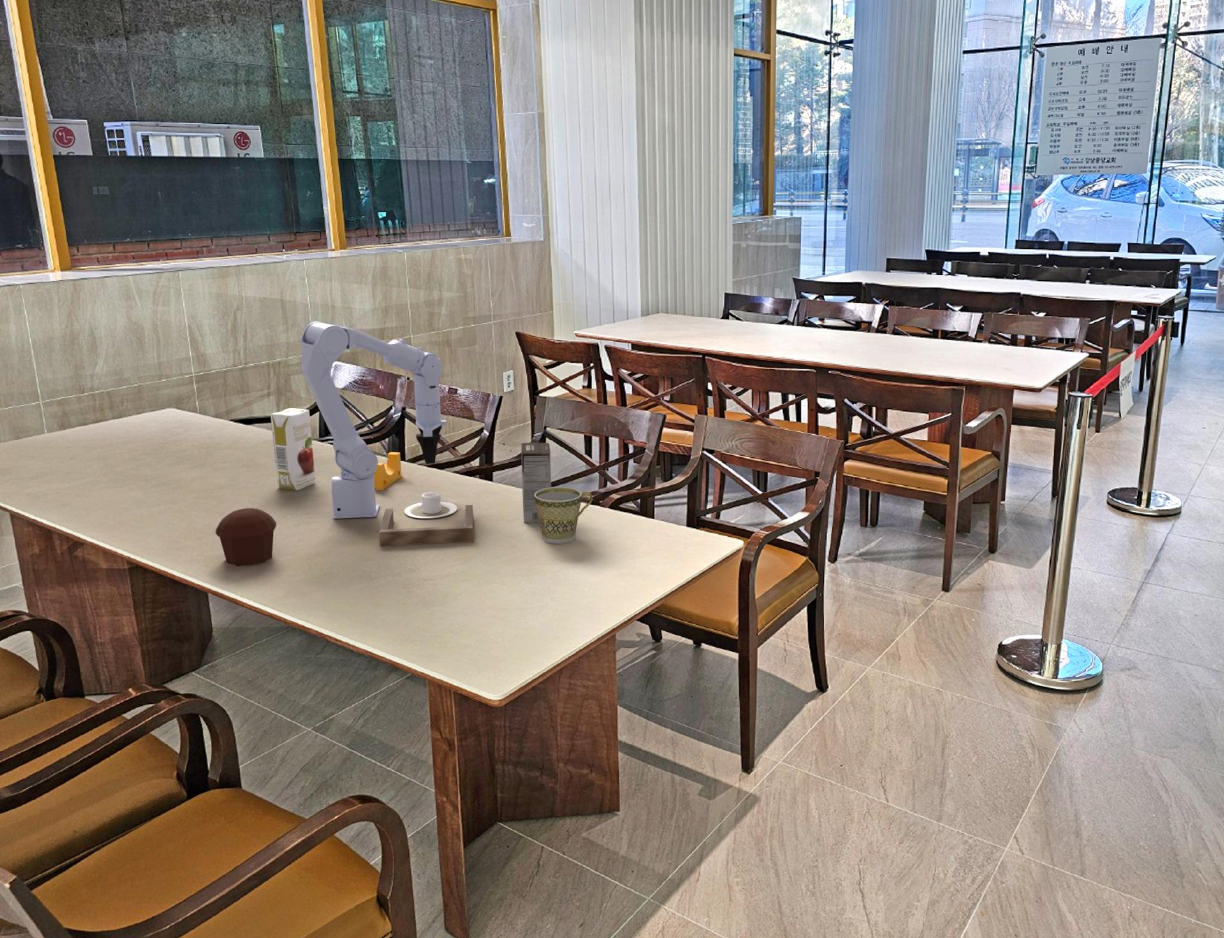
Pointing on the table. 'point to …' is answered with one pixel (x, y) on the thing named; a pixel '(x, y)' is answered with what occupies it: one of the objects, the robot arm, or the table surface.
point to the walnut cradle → (425, 532)
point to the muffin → (247, 536)
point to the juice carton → (293, 448)
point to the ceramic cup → (559, 512)
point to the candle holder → (431, 506)
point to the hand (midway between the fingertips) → (430, 459)
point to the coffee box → (534, 476)
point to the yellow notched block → (388, 471)
